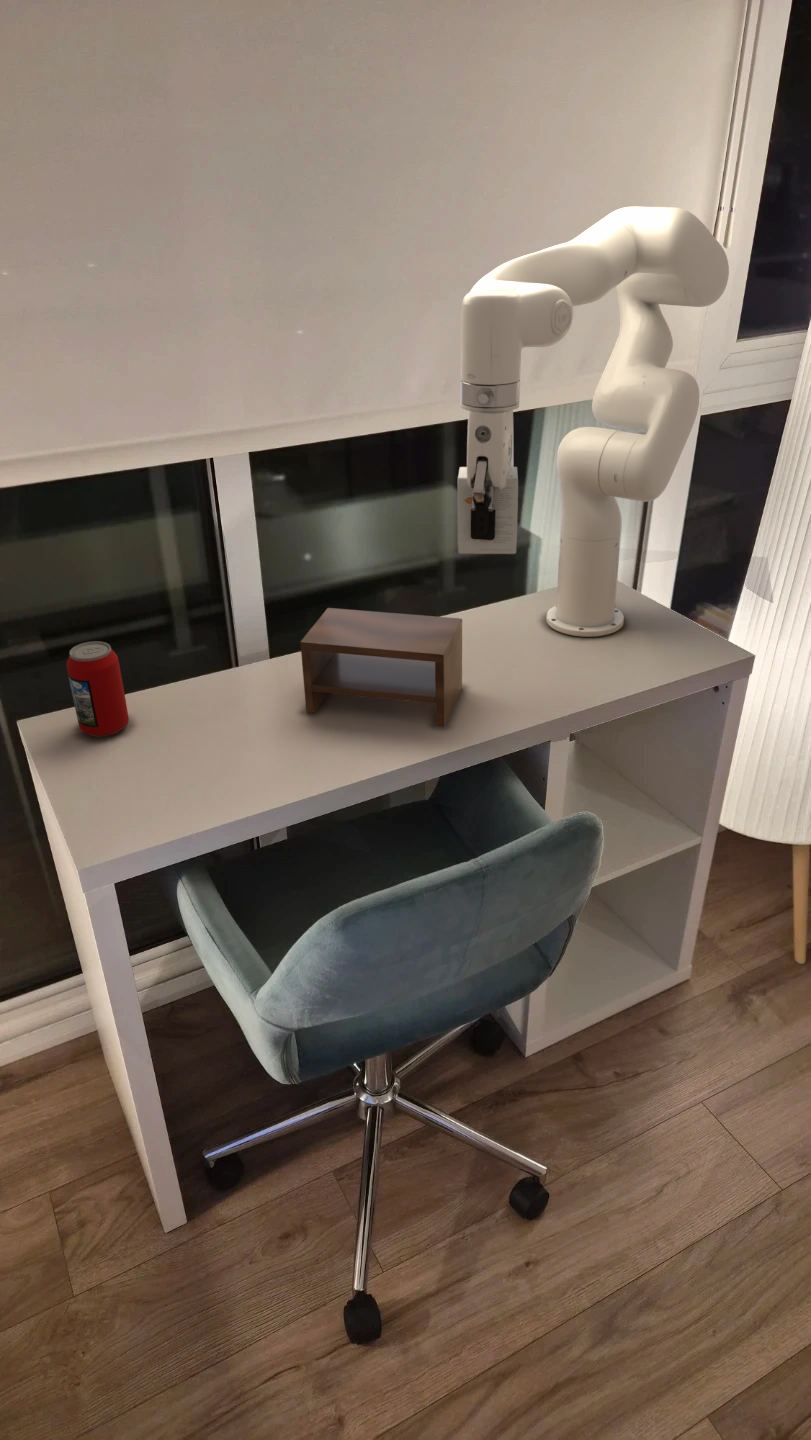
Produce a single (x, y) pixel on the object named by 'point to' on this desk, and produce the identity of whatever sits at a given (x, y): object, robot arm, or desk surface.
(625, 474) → the robot arm
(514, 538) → the small box
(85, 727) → the beverage can
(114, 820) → the desk surface
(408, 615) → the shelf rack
